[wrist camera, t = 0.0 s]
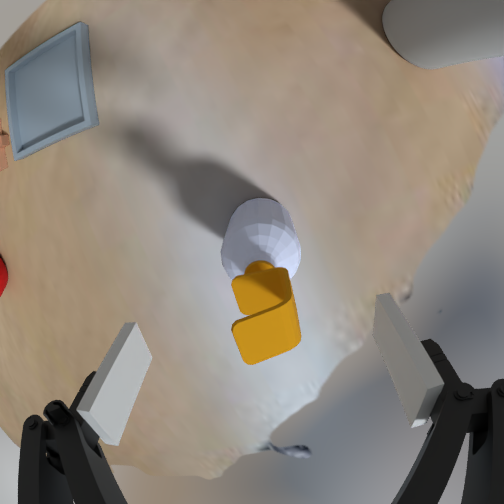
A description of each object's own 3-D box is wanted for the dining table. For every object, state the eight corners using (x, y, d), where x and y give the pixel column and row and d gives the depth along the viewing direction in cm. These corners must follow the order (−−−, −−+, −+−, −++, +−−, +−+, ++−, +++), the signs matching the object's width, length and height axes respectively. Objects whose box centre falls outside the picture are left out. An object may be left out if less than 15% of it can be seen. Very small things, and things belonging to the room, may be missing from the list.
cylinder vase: (413, -10, 25) (506, -69, 3) (461, 51, 29) (575, 34, 6) (363, 16, 29) (455, -63, 6) (417, 83, 33) (545, 69, 10)
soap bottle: (221, 206, 41) (175, 303, 19) (285, 190, 40) (315, 274, 18) (238, 262, 45) (218, 391, 22) (298, 249, 44) (330, 373, 21)
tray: (13, 70, 31) (5, 70, 29) (88, 25, 30) (80, 21, 27) (23, 158, 38) (14, 161, 36) (99, 124, 37) (91, 125, 34)
